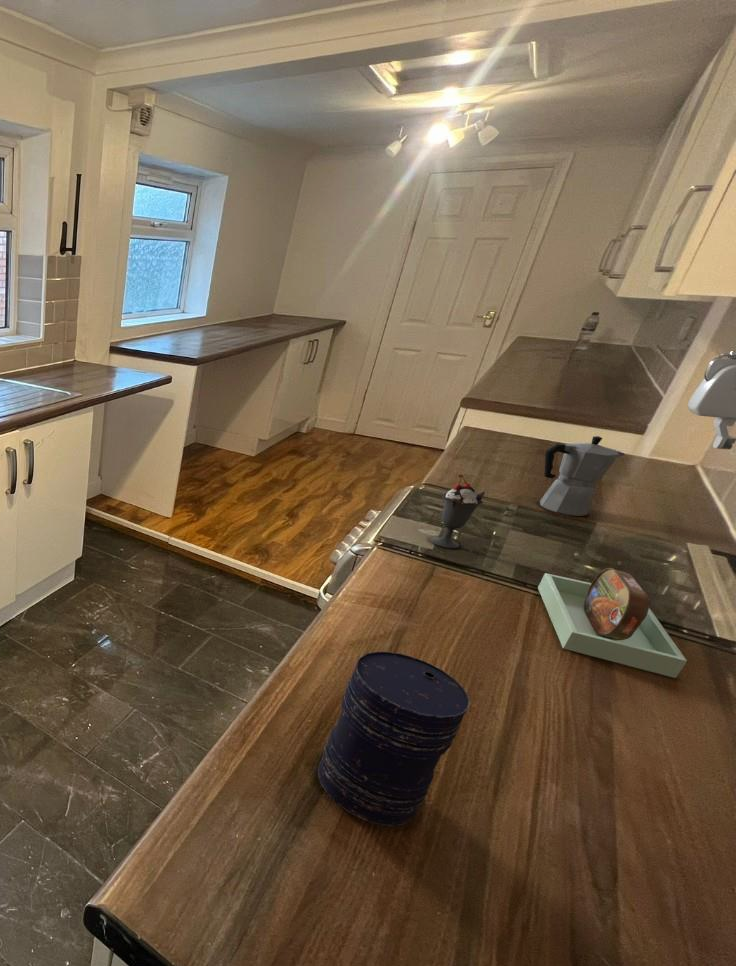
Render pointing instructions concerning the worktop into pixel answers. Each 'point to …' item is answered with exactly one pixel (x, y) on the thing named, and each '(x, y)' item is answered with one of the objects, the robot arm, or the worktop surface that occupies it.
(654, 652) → the tray
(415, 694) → the navy ribbed drum
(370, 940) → the worktop surface
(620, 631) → the tin
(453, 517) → the sundae
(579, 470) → the coffeepot
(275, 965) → the worktop surface
